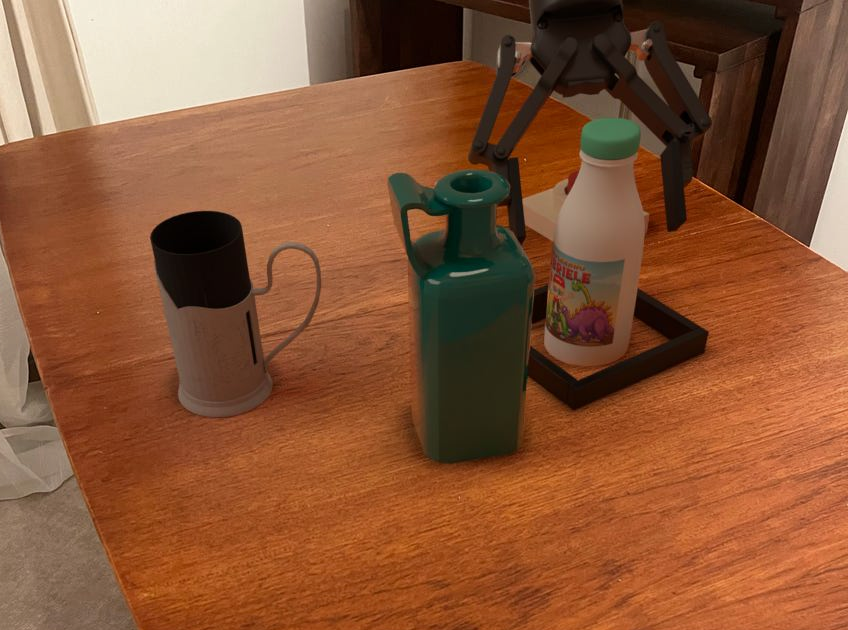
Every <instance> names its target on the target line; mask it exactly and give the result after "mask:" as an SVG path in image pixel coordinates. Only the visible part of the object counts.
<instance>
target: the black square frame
mask: <svg viewBox="0 0 848 630" xmlns="http://www.w3.org/2000/svg"><path fill="white" fill-rule="evenodd" d="M548 287H549V283H547V284H545V285H542V286H540V287H537V288H534V298H533V312H532V325H533V324H536V323H538V322H541V321H544V320H546V310H547V298H548ZM633 318H636V319H637V320H639V321H641V322H642V323H644V324H645V325H647V326H649V327H650V328H652V329H653V330H655V331H656V332H658V333H660V334H661V335H663V336H664V337H666V339H669V340H668V341H665V342H663V343H661V344H658V345H656V346H654V347H651V348H649V349H647V350H645V351H643V352H640V353H637V354H635V355H633V356H631V357H628V358H626V359H624V360H622V361H619V362H617V363H614V364H612V365H610V366H608V367H605V368H603V369H601V370H598V371H595V372H593V373H592V374H588V375H587V376H584V377H582V378H579V379H577V377H574V376H573V375H572V374H570V372H567V371H566V370H565V369H564V368H562V367H561V366H559V365H558V364H557V363H555V362H554V361H553V360H551V359H550V358H549V357H547V356H545V354H543V353H541V352H540V351H538V349H536V348H534V347H533V346H531V345H530V353H529V367H528V378H531V380H533V381H534V382H536V384H538V385H539V386H541V387H542V388H544V389H545V390H546V391H548V392H549V393H550V394H551V395H552V396H553V397H555V398H557V399H558V400H559V401H560V402H561V403H563V404H564V405H566V406H567V407H569V408H570V409H571V410H572V411H576V410H578V409H581V408H583V407H585V406H587V405H590V404H592V403H595V402H596V401H599V400H601V399H603V398H605V397H608V396H610V395H613V394H615V393H617V392H619V391H621V390H624V389H626V388H628V387H631V386H632V385H635V384H637V383H639V382H642V381H644V380H646V379H648V378H651V377H653V376H655V375H657V374H660V373H662V372H665V371H666V370H669V369H671V368H673V367H675V366H678V365H680V364H682V363H685V362H687V361H689V360H691V359H694V358H696V357H698V356H701V355H702V354H704V353H705V352H706V347H707V342H708V339H709V334H710V331H709V330H707V329H705V328H704V327H702V326H700V325H699V324H697V323H696V322H694V321H693V320H691V319H690V318H688V317H686V316H684V315H683V314H681V313H679V312H678V311H676V310H675V309H673V308H671V307H670V306H668V305H667V304H665V303H663V302H661V300H658V299H657V298H655V297H653V296H651V295H650V294H648V293H647V292H645V291H643V290H642V289H640V288H638V289H637V296H636V302H635V309H634V315H633Z"/></svg>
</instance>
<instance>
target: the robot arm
mask: <svg viewBox="0 0 848 630" xmlns="http://www.w3.org/2000/svg"><path fill="white" fill-rule="evenodd" d="M528 4H529V5H528V8H529V17H530V18H529V19H530V26H531V27H530V28H531V35H532V36H531V37H532V38H531V39H532V40H531V41H516V38H515V37H514V36H512V35H511V34H506V35H504V36H503V37H502V38H501V40H500V43H499V47H498V49H497V53H496V57H495V58H496V59H495V60H496V61H495V62H496V63H495V65H496V66H495V67H496V69H495V78H494V82H493V84H492V87H491V89H490V93H489V95H488V98H487V101H486V102H485V103H486V104H485V106H484V109H483V112H482V115H481V117H480V120H479V123H478V126H477V128H476V131H475V134H474V137H473V139H472V142H471V146H470V148H469V151H468V155H467V160H468V162H469V163H470V164H471V165H474V166H475V165H479V164H481V165H484V166H486V167H487V169H488V171H491V172H495V173H497V174H499V175H501V176H503V177H505V178H506V179H507V181H508V183H509V184H510V191H509V195H508V196H507V197H506V198H505V199H503V200H502V201H501V202H500V203H498V204H497V208H499V207H506V208H507V209H506V210H507V218H508V219H507V220H508V227H509V228H508V229H509V230H511V231H513V233H514V234H515V236H516V238H517V240H518V241H519V243H520V245H521V246H522V245H523V244H524V242H525V240H526V238H527V231H526V230H527V229H526V225H525V220H524V210H523V200H522V199H523V192H522V183H521V172H520V163H519V157H518V156H517V157H516V156H515V157H510V156H511V155H512V154H513V152H514V150H515V149H516V148H517V146H518V145H519V143H520V142H521V140H522V138H523V137H524V135H525V134H526V132H527V131H528V129H529V128H530V126H531V125H532V123H533V122H534V120H535V119H536V117H537V116H538V114H539V113H540V111H541V110H542V108H543V107H544V106H545V105H546V103H547V102H548V100H549V99H550V97H551V96H552V94H553V93H554V92H555V93H557V94H559V95H561V96H562V98H563V99H565V98H573V97H576V96H577V95H580V94H582V95H588V96H595V95H599V94H600V93H601V92H602V91H604V90H605V91H606V92H607V93H608V94H609V95H610V96H611V98H613V99H615V100H619V101H620V102H621V103H622V104H623V105H624V106H625V107H626V108H627V109H628V110H629V111H630V112H631V113H632V114H633V115H634V116H635V117H636V118H637V119H638V120H639V121H640V122H641V123H642V124H643V125H644V126H645V127H646V128H647V129H648V130H649V131H650V132H651V133H652V134H653V135H654V136H655V137H656V138H657V139H658V140H659V141H660V142H661V143H662V144H663V145H664V146H665V148H664V149H663V151H662V152H661V153H660V155H659V158H660V169H661V170H660V171H661V180H662V189H663V190H662V191H663V201H664V211H665V221H666V222H665V223H666V232H667V233H673V232H677V231H678V230H679V229H680V228H681V227H682V226H683V225H684V224H685V223H686V222H687V221H688V217H687V215H688V214H687V206H686V205H687V204H686V196H685V188H687V187H688V186H689V184H691V182H692V180H693V177H694V168H693V157H692V147H691V146H692V144H693V143H698V142H699V141H700V140H701V139H702V138H703V137H704V136H705V134H706V133H707V132H708V131H709V130H710V129H711V128H712V125H713V120H712V118H711V117H710V115H709V113H708V111H707V110H706V108H705V107H704V104H703V103H702V101H701V99H700V98H699V96H698V95H697V93H696V91H695V90H694V88H693V85H691V83H690V81H689V80H688V78H687V76H686V75H685V73H684V72H683V70H682V68H681V67H680V64H679V63H678V61H677V59H676V58H675V57H674V54H673V53H672V52H671V49H670V48H669V46H668V41H667V37H666V33H665V32H666V31H665V26H664V24H663V22H662V21H659V20H653V21H652V22H651V23H650V24H649V26H648V27H647V28H644V29H640V30H635V31H631V32H630V31H629V29H628V27H627V26H626V24H625V22H624V21H625V20H624V6H623V0H528ZM629 51H631V52H632V51H633V52H634V53H635V54H636V56H637V59H638V61H640V62H641V61H643V62H644V65H645V68H646V70H647V73H648V74H649V76H650V78H651V79H652V81H653V82H654V84H655V86H656V88H657V89H658V92H660V94H661V96H662V98H663V99H664V100H663V99H662V98H661V97H660V96H659V95H658V94H657V93H656V92H655V90H653V88H651V87H650V86H649V85H648V84H647V83H646V81H644V79H643V78H641V77H640V76H639V74H638V72H637V68H636V67H635V66H634V65H633V64H632V62H630V60H628V59H627V57H626V56H627V53H628V52H629ZM526 61H529V63H530V65H531V66H532V67H533V68H534V69H535V70H536V72H537V73H538V74H539V75H540V77H539V79H538V81H537V82H536V84H535V86H534V87H533V89H532V90H531V92H530V94H529V95H528V97H527V99H526V100H525V101H524V103H523V105H522V106H521V107H520V109H519V110H518V112H517V113H516V115H514V118H513V119H512V121H511V122H510V124H509V125H508V127H507V129H506V130H505V131H504V133H503V135H502V136H501V138H500V139H499V140H498V142H497V143H496V144H494V143H491V142H489V141H490V138H491V135H492V132H493V130H494V126H495V124H496V121H497V118H498V115H499V113H500V111H501V107H502V104H503V102H504V99H505V96H506V94H507V91H508V89H509V86H510V83H511V80H512V76H513V75H514V73H519V72H520V70H521V68H522V66H523V63H524V62H526Z"/></svg>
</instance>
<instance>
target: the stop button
mask: <svg viewBox="0 0 848 630" xmlns="http://www.w3.org/2000/svg"><path fill="white" fill-rule="evenodd" d="M579 171H580V169H579V170H576V171H573V172H571V173H570V174H569V175H568V177H567V179H568V186H567V195H568V194H569V193H570V191H571V189H572V187H573V185H574V183H575V181H576V179H577V176H578V173H579Z"/></svg>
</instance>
